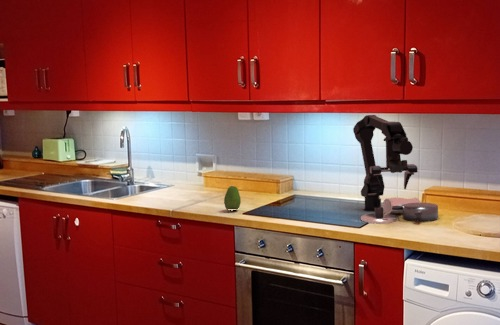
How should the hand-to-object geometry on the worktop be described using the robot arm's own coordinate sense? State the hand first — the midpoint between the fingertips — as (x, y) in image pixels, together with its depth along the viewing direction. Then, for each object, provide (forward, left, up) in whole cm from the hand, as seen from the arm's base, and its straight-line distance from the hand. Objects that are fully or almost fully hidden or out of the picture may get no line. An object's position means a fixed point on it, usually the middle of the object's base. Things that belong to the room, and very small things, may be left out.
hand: (393, 189), depth 247 cm
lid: (-6, -5, -12) cm, 14 cm away
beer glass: (+8, +13, -9) cm, 17 cm away
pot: (+11, -2, -12) cm, 16 cm away
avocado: (-74, +2, -12) cm, 75 cm away
